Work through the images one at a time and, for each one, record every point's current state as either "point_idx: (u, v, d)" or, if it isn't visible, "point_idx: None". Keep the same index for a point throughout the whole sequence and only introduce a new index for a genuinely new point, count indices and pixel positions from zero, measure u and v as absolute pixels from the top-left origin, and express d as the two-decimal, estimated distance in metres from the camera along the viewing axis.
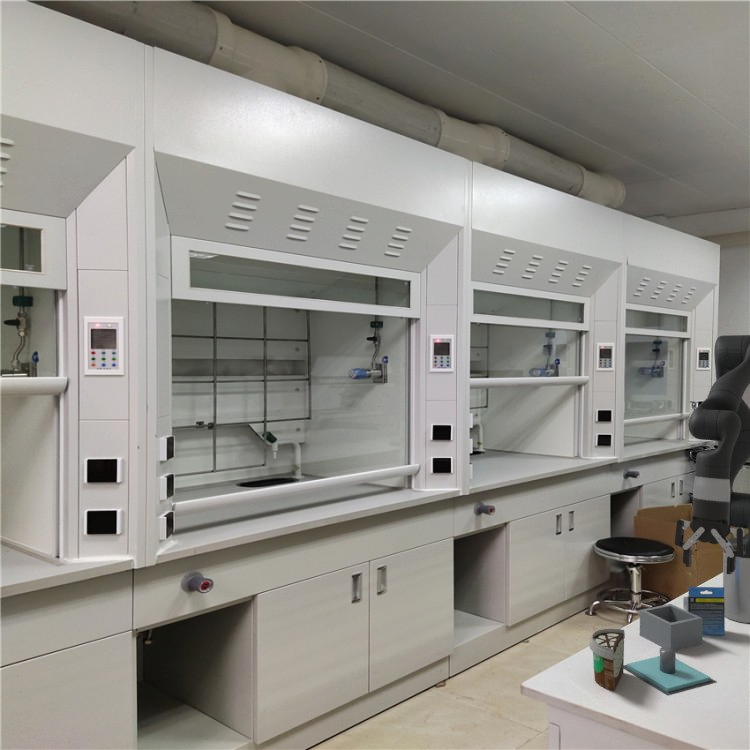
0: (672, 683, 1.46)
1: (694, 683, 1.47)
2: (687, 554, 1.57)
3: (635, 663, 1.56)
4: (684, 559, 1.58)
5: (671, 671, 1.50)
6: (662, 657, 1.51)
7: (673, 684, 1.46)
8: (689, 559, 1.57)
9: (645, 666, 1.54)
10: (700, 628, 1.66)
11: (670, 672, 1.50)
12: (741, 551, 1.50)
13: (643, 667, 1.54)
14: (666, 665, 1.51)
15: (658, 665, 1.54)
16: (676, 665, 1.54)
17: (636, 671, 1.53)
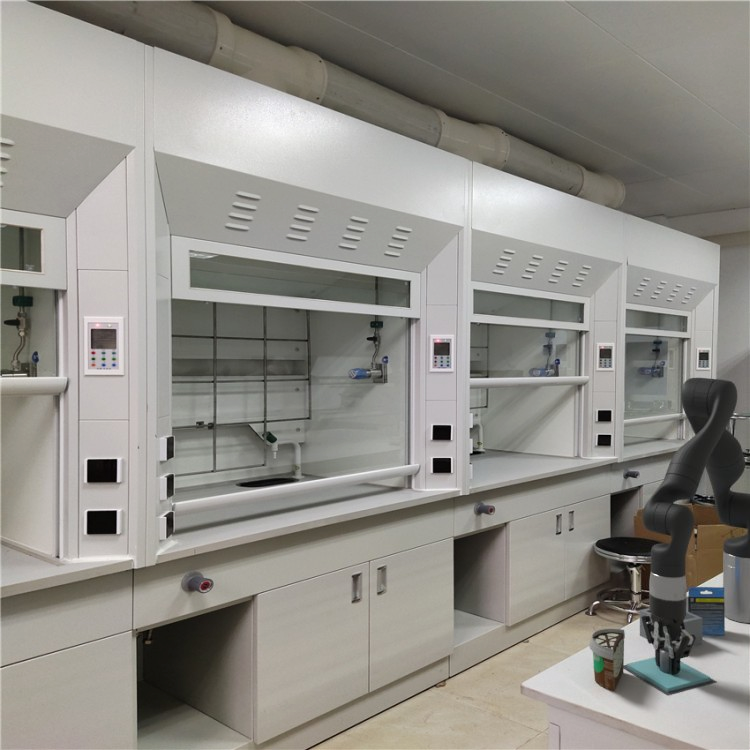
0: (672, 683, 1.46)
1: (694, 683, 1.47)
2: (657, 654, 1.53)
3: (635, 663, 1.56)
4: (656, 658, 1.54)
5: None
6: (662, 657, 1.51)
7: (673, 684, 1.46)
8: None
9: (645, 666, 1.54)
10: (700, 628, 1.66)
11: None
12: (678, 654, 1.47)
13: (643, 667, 1.54)
14: (666, 665, 1.51)
15: None
16: None
17: (636, 671, 1.53)
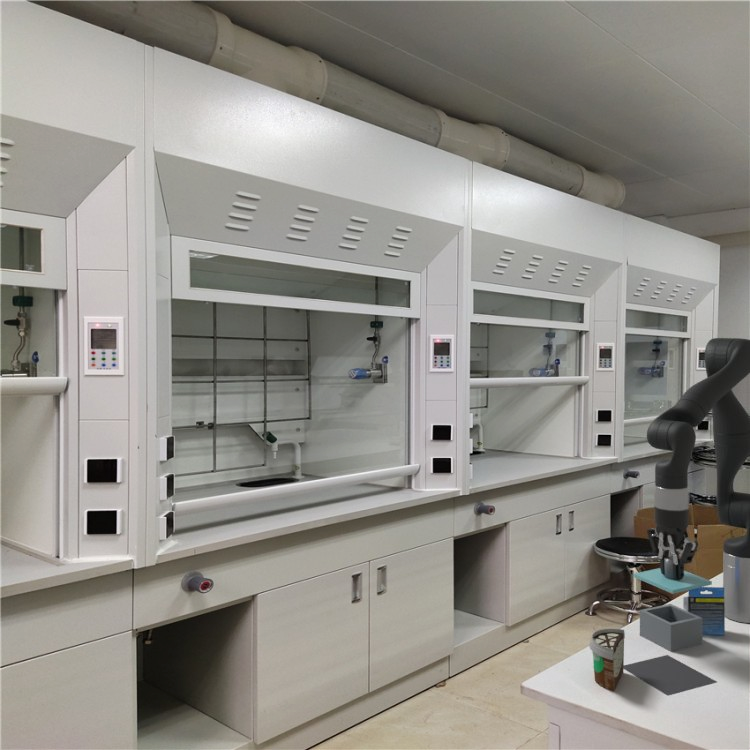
0: (677, 586, 1.57)
1: (697, 586, 1.58)
2: (662, 563, 1.64)
3: (641, 573, 1.67)
4: (661, 567, 1.65)
5: None
6: (666, 564, 1.62)
7: (677, 587, 1.57)
8: None
9: (651, 575, 1.65)
10: (700, 628, 1.66)
11: None
12: (682, 560, 1.58)
13: (649, 575, 1.65)
14: (671, 572, 1.62)
15: None
16: None
17: (643, 579, 1.64)
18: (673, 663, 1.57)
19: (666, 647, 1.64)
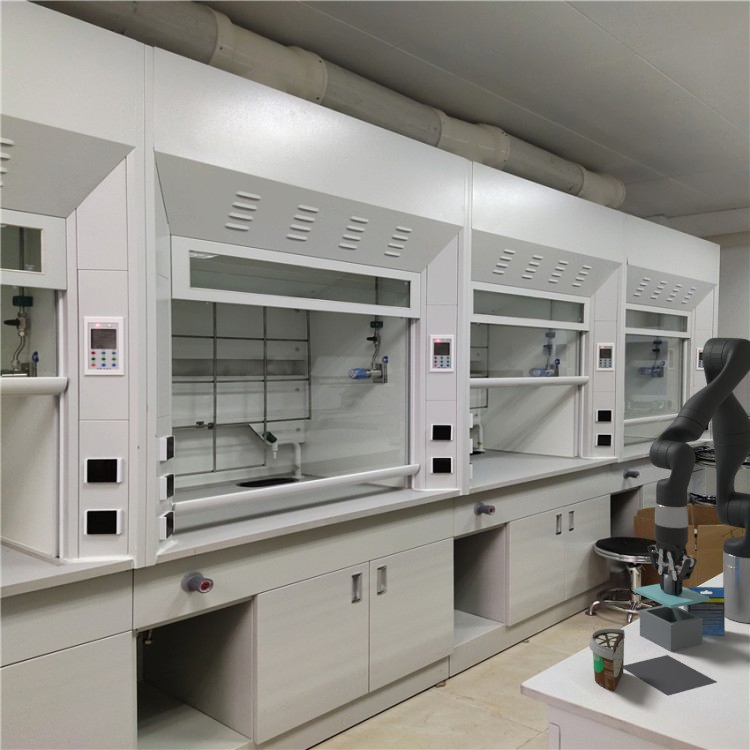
0: (675, 601, 1.63)
1: (695, 602, 1.64)
2: (661, 578, 1.70)
3: (641, 588, 1.72)
4: (660, 583, 1.71)
5: None
6: (666, 580, 1.68)
7: (675, 602, 1.62)
8: None
9: (650, 590, 1.71)
10: (700, 628, 1.66)
11: None
12: (681, 576, 1.64)
13: (649, 590, 1.70)
14: (670, 587, 1.67)
15: None
16: None
17: (642, 593, 1.69)
18: (673, 663, 1.57)
19: (666, 647, 1.64)
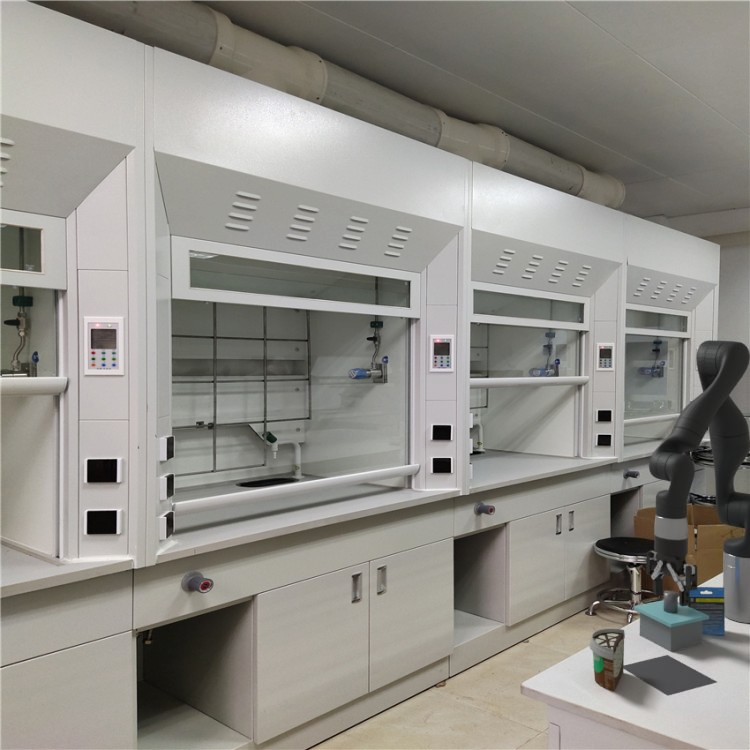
0: (675, 620, 1.63)
1: (694, 620, 1.64)
2: (655, 583, 1.72)
3: (641, 605, 1.72)
4: (654, 587, 1.73)
5: (674, 611, 1.67)
6: (665, 598, 1.68)
7: (675, 621, 1.63)
8: (657, 588, 1.72)
9: (650, 608, 1.71)
10: (700, 628, 1.66)
11: (673, 612, 1.67)
12: (688, 587, 1.62)
13: (648, 608, 1.71)
14: (669, 605, 1.68)
15: (662, 607, 1.71)
16: (678, 607, 1.71)
17: (642, 612, 1.70)
18: (673, 663, 1.57)
19: (666, 647, 1.64)
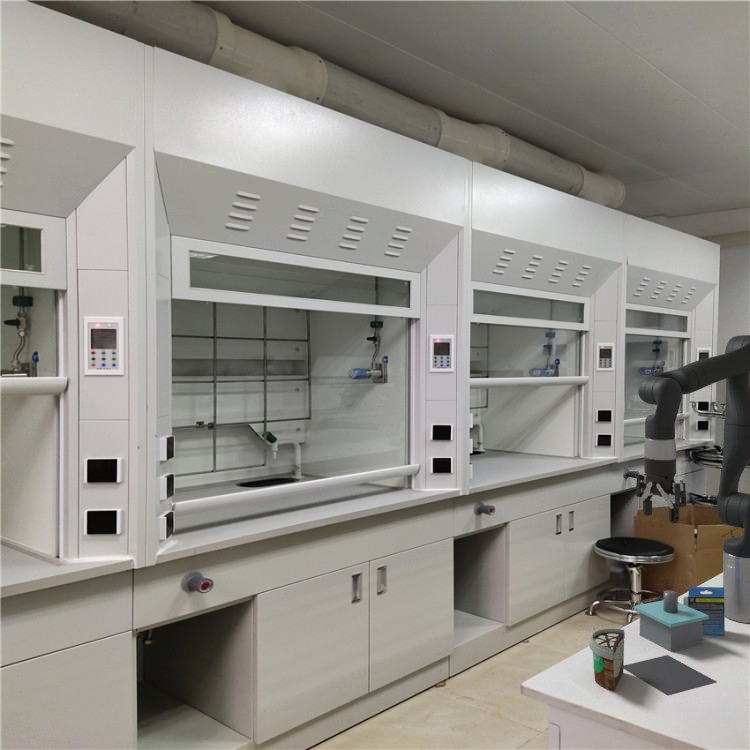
0: (675, 620, 1.63)
1: (694, 620, 1.64)
2: (644, 504, 1.79)
3: (641, 605, 1.72)
4: (643, 508, 1.80)
5: (674, 611, 1.67)
6: (665, 598, 1.68)
7: (675, 621, 1.63)
8: (647, 509, 1.79)
9: (650, 608, 1.71)
10: (700, 628, 1.66)
11: (673, 612, 1.67)
12: (677, 503, 1.69)
13: (648, 608, 1.71)
14: (669, 605, 1.68)
15: (662, 607, 1.71)
16: (678, 607, 1.71)
17: (642, 612, 1.70)
18: (673, 663, 1.57)
19: (666, 647, 1.64)
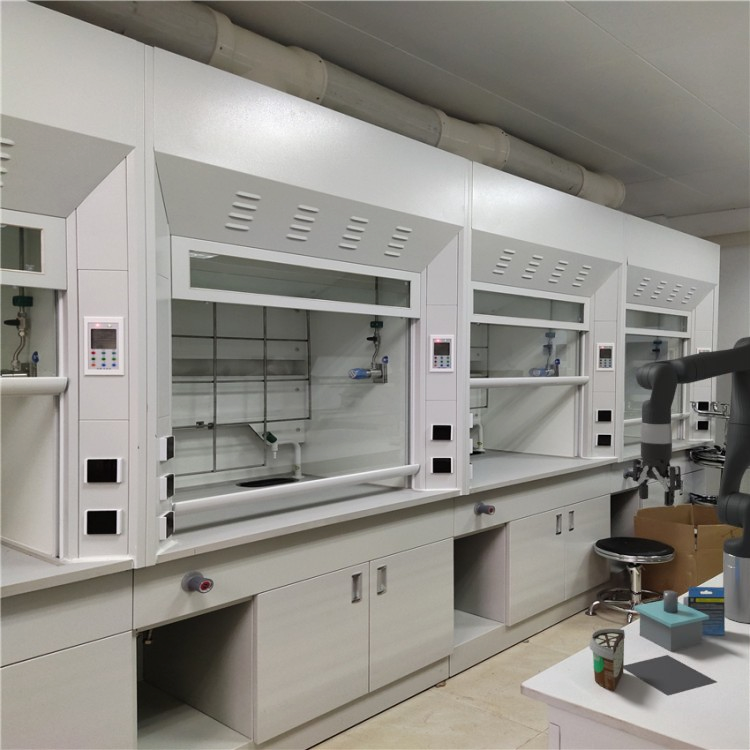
0: (675, 620, 1.63)
1: (694, 620, 1.64)
2: (640, 488, 1.82)
3: (641, 605, 1.72)
4: (640, 492, 1.83)
5: (674, 611, 1.67)
6: (665, 598, 1.68)
7: (675, 621, 1.63)
8: (643, 492, 1.82)
9: (650, 608, 1.71)
10: (700, 628, 1.66)
11: (673, 612, 1.67)
12: (672, 486, 1.72)
13: (648, 608, 1.71)
14: (669, 605, 1.68)
15: (662, 607, 1.71)
16: (678, 607, 1.71)
17: (642, 612, 1.70)
18: (673, 663, 1.57)
19: (666, 647, 1.64)
